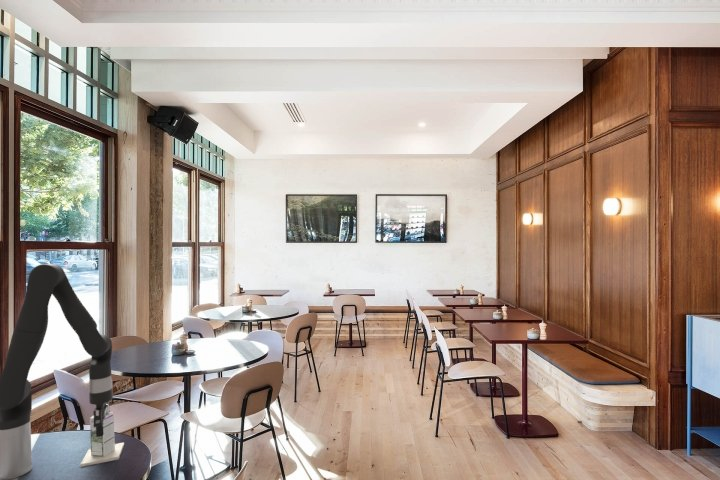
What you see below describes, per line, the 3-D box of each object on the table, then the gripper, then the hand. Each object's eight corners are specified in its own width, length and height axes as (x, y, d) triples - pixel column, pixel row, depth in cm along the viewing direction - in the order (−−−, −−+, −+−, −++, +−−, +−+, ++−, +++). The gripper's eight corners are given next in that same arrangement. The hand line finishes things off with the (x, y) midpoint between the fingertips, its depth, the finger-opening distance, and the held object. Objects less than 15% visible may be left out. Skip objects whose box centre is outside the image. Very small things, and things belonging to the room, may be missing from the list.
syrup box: (115, 449, 157) (114, 411, 158) (103, 457, 151) (102, 417, 152) (103, 448, 158) (102, 410, 159) (90, 456, 153) (89, 417, 153)
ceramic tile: (80, 467, 147) (80, 464, 147) (88, 451, 159) (88, 449, 159) (118, 459, 152) (118, 456, 152) (124, 444, 163) (124, 442, 163)
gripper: (108, 393, 150) (110, 437, 150) (115, 381, 163) (117, 422, 163) (84, 396, 147) (86, 441, 147) (93, 384, 161) (95, 425, 160)
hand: (102, 431), depth 155 cm, fingers open, 8 cm apart
